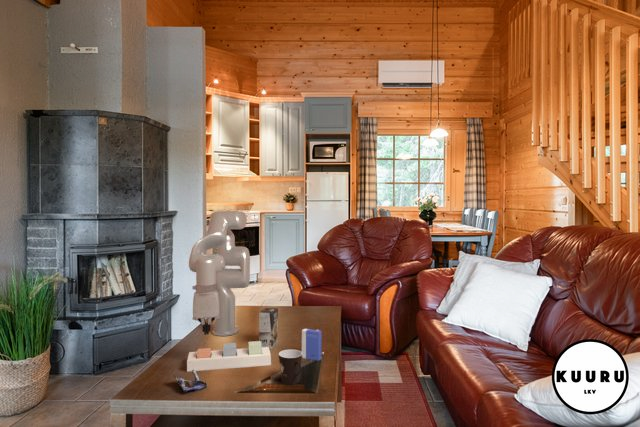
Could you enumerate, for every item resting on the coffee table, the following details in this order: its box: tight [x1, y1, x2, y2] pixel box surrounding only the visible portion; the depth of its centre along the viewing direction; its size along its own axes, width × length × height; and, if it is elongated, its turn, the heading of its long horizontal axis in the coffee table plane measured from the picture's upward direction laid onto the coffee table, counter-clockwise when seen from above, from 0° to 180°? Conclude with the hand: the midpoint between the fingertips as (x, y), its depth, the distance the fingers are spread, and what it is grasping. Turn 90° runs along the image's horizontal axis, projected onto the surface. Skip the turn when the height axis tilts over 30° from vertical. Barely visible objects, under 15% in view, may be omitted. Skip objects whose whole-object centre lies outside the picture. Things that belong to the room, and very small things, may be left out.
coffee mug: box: [278, 348, 303, 385], centre depth 155 cm, size 12×9×10 cm
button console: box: [186, 347, 272, 372], centre depth 173 cm, size 32×10×4 cm, turn 102°
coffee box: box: [258, 307, 279, 350], centre depth 194 cm, size 9×6×16 cm
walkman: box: [301, 328, 322, 361], centre depth 179 cm, size 8×3×12 cm, turn 66°
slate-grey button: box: [222, 342, 237, 357], centre depth 173 cm, size 5×5×5 cm
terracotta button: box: [196, 347, 212, 359], centre depth 171 cm, size 5×5×5 cm
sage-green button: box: [247, 340, 262, 355], centre depth 175 cm, size 5×5×5 cm
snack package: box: [172, 369, 208, 393], centre depth 152 cm, size 12×6×12 cm
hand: (206, 333), depth 173 cm, fingers closed
